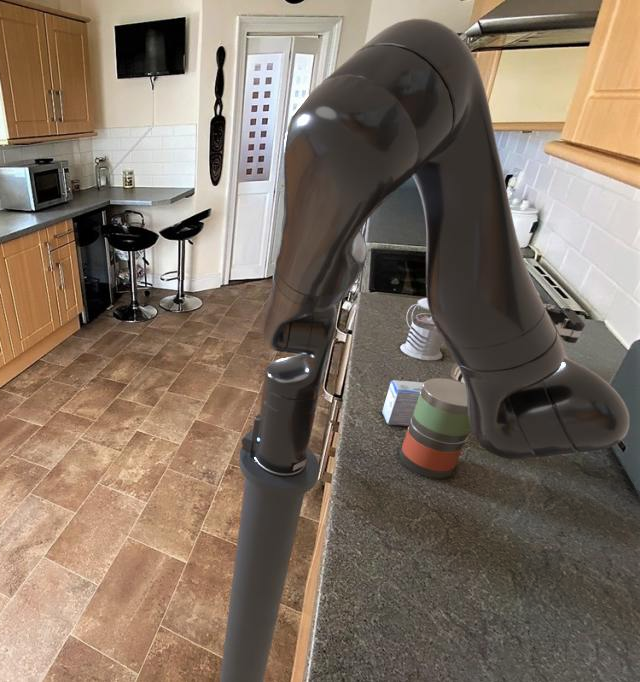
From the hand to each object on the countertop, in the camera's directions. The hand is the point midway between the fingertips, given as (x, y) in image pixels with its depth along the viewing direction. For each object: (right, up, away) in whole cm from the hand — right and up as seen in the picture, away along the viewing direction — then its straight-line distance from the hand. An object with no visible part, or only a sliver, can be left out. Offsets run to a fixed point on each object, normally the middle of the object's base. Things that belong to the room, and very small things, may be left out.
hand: (502, 297), depth 64 cm
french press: (+24, -9, +54) cm, 60 cm away
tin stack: (0, -29, +17) cm, 34 cm away
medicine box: (+3, -24, +28) cm, 37 cm away
